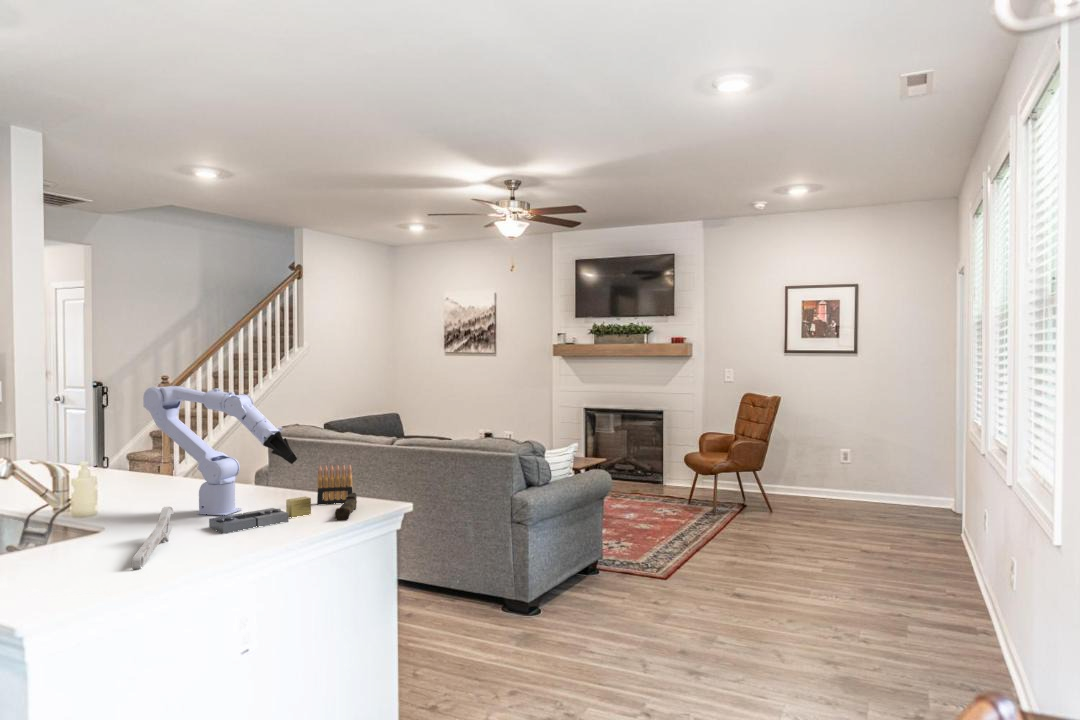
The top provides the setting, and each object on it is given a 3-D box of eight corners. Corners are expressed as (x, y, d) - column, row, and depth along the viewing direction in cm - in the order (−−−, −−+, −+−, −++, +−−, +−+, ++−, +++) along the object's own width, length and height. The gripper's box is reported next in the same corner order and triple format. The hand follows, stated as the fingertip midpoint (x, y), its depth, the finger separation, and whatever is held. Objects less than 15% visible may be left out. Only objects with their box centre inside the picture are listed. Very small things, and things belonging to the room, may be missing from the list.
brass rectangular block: (291, 518, 212) (291, 501, 212) (286, 517, 215) (286, 499, 214) (311, 515, 217) (310, 497, 217) (305, 513, 219) (305, 496, 219)
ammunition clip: (317, 504, 230) (316, 465, 230) (317, 503, 232) (317, 464, 232) (353, 503, 232) (352, 464, 232) (353, 501, 234) (352, 463, 234)
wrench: (132, 583, 166) (167, 533, 194) (141, 582, 166) (174, 533, 195) (130, 548, 164) (165, 503, 193) (139, 547, 165) (173, 503, 194)
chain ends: (223, 533, 196) (223, 522, 196) (209, 527, 202) (209, 517, 202) (288, 521, 209) (288, 511, 209) (273, 516, 215) (273, 506, 215)
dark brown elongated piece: (349, 521, 210) (349, 505, 210) (334, 521, 210) (334, 505, 209) (363, 506, 229) (363, 491, 228) (350, 506, 228) (350, 491, 228)
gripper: (264, 410, 211) (298, 443, 209) (275, 422, 225) (307, 454, 223) (244, 427, 209) (278, 461, 207) (257, 439, 223) (288, 471, 221)
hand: (292, 458), depth 215 cm, fingers open, 7 cm apart
